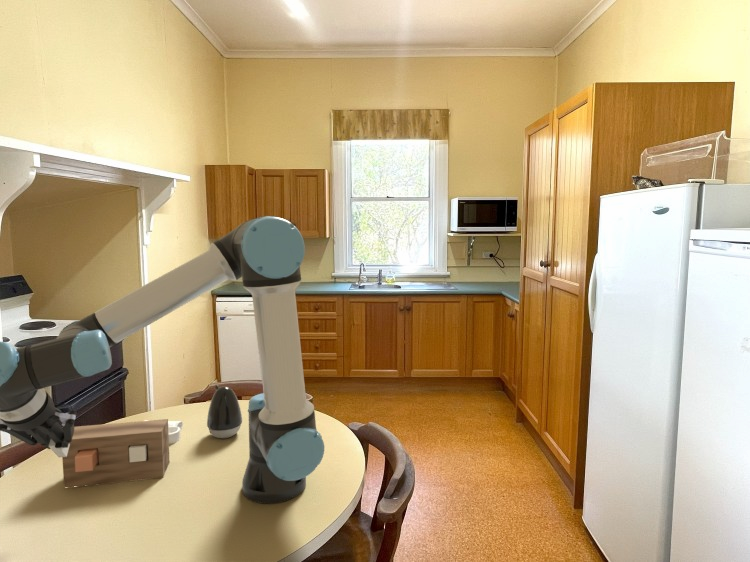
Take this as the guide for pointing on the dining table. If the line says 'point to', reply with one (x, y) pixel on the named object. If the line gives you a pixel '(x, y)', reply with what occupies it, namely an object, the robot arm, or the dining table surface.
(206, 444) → the dining table surface
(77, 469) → the terracotta key
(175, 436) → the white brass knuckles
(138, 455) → the ivory key
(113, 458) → the key console
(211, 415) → the black egg shaped device
